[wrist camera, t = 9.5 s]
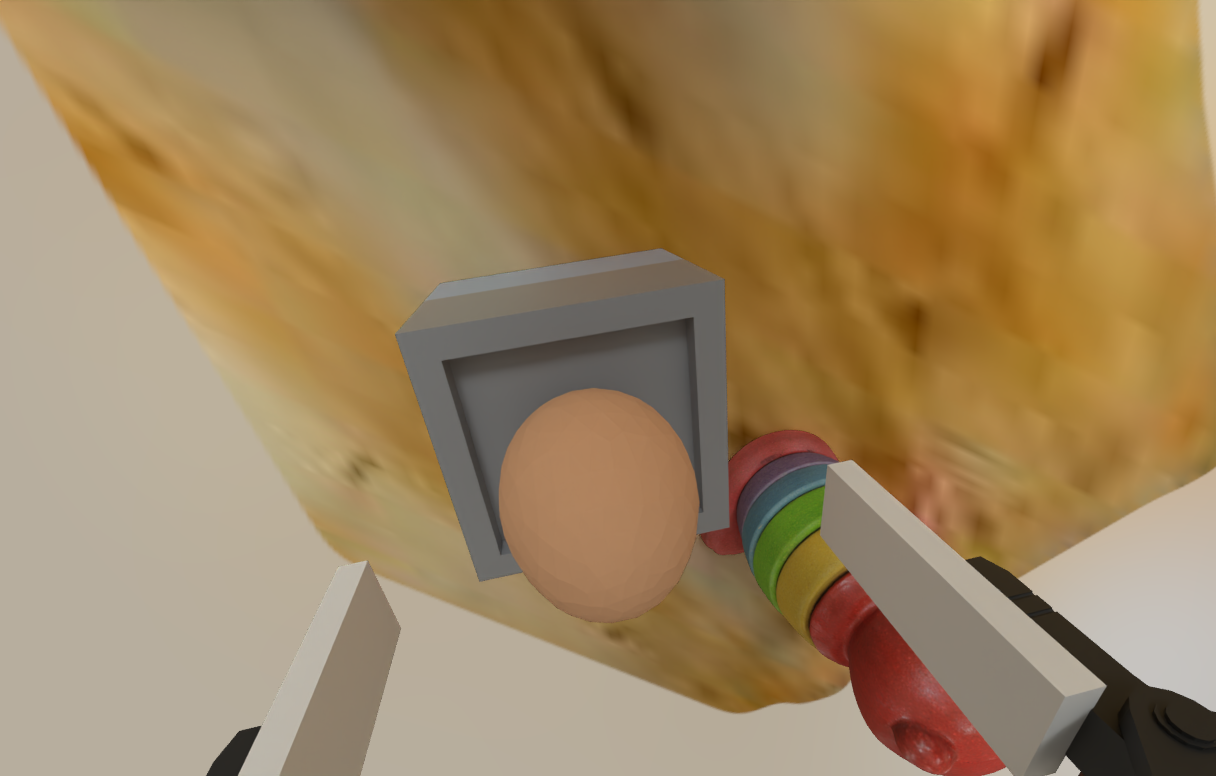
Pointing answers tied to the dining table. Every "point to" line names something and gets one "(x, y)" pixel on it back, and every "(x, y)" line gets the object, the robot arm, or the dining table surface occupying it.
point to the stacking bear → (839, 604)
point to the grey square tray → (567, 370)
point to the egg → (599, 504)
